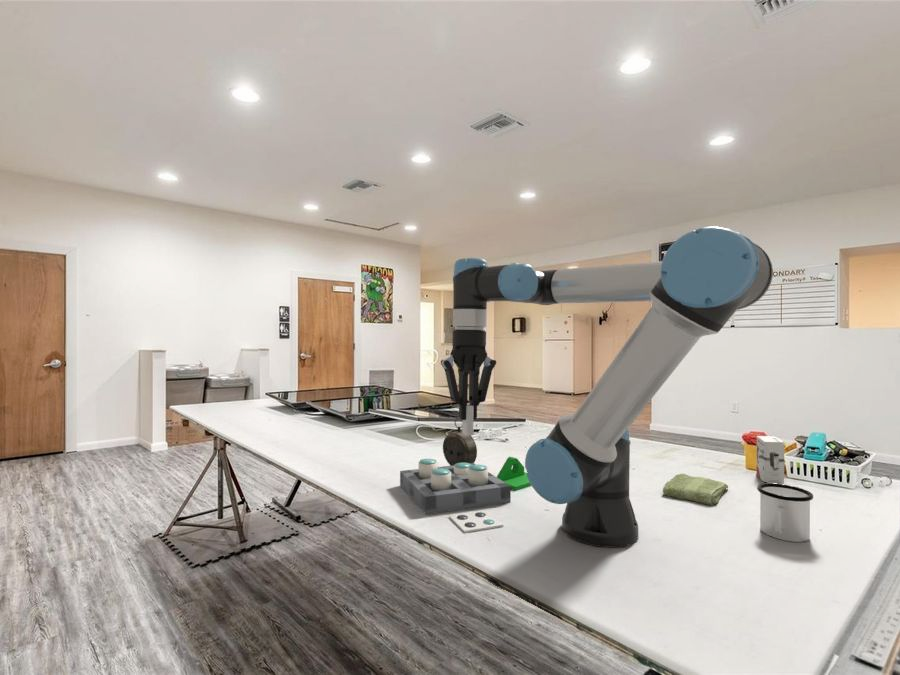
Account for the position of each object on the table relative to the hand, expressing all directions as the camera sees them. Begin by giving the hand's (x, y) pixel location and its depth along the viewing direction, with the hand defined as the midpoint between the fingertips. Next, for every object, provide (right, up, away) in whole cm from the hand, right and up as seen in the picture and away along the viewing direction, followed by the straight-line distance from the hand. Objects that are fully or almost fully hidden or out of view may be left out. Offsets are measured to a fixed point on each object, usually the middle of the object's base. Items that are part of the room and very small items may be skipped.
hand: (467, 433), depth 105 cm
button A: (-6, -16, +10) cm, 19 cm away
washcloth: (+60, -20, +18) cm, 66 cm away
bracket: (+15, -19, +25) cm, 35 cm away
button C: (+3, -16, +13) cm, 21 cm away
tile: (+2, -19, -2) cm, 19 cm away
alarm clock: (-1, -19, +36) cm, 41 cm away
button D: (0, -17, +23) cm, 29 cm away
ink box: (+87, -19, +29) cm, 94 cm away
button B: (-10, -15, +19) cm, 26 cm away
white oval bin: (+64, -19, -9) cm, 68 cm away
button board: (-3, -19, +16) cm, 25 cm away
